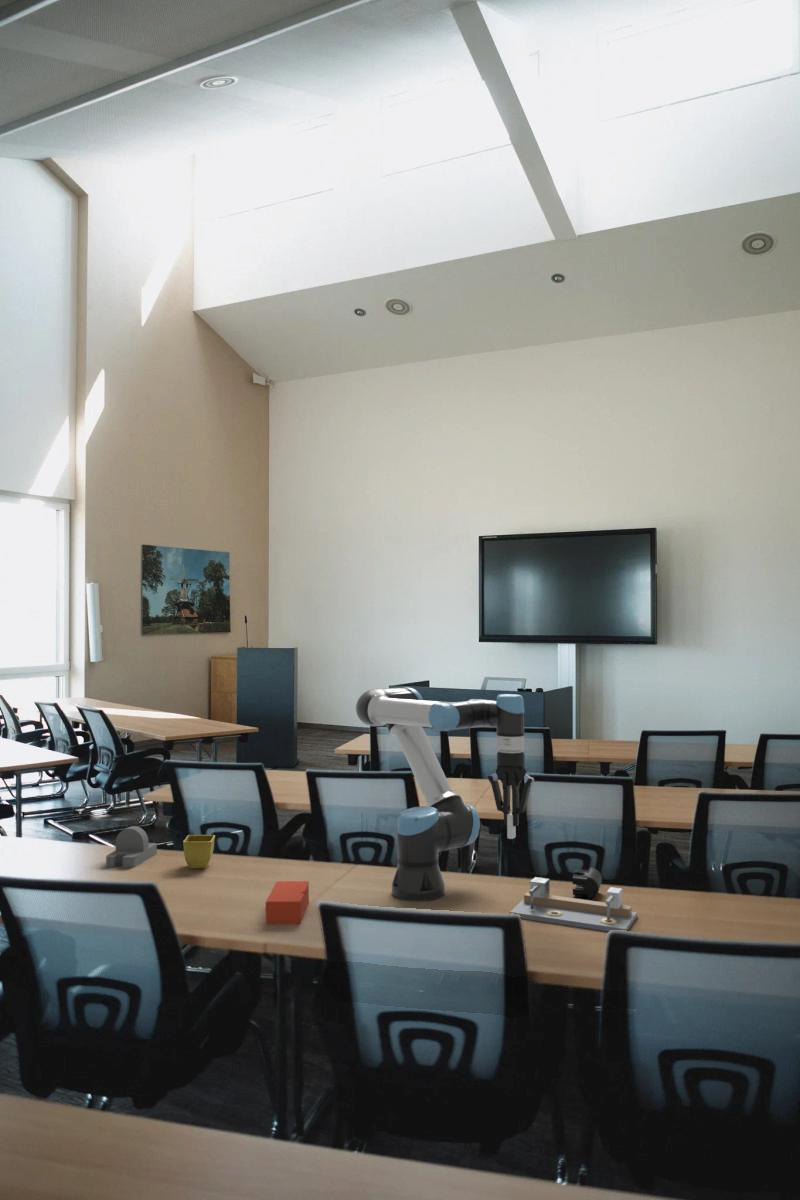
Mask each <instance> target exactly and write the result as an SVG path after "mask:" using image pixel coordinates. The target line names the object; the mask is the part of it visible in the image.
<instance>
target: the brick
mask: <svg viewBox="0 0 800 1200" xmlns="http://www.w3.org/2000/svg"><path fill="white" fill-rule="evenodd" d="M309 885H310V881H308V880H299V881H298V880H297V881H296V880H295V881H294V880H278V881H276V882H275V883H274V886H273V888H272V890H271V892H270V893H269V895H268V897H267V899H266V901H265V924H266V925H301V924H302V922H303V918H304V916H305V913H306V910H307V909H308V906H309V903H310V893H309V891H310V889H309V887H310V886H309Z"/></svg>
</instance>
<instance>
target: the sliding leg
mask: <svg viewBox="0 0 800 1200" xmlns="http://www.w3.org/2000/svg"><path fill="white" fill-rule="evenodd" d="M528 892H529V894H530V896H531V909H533V897H538V898H546V897H547V896H548V895H551V894H550V878H546V877H537V876H534V878H532V879H531V880H530V881H529V890H528Z"/></svg>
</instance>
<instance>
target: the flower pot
mask: <svg viewBox="0 0 800 1200" xmlns="http://www.w3.org/2000/svg"><path fill="white" fill-rule="evenodd" d="M215 839H216V835H214V834H195V835H194V834H188V835H187V836H186V837H185V839H183V841H182V842H183V843H182V844H183V854H184V859H185V862H186V864H187V867H188V868H189V869H207V867H208V865H209V863H210V861H211V860H212V857H213V852H214V847H215V841H216V840H215Z"/></svg>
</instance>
